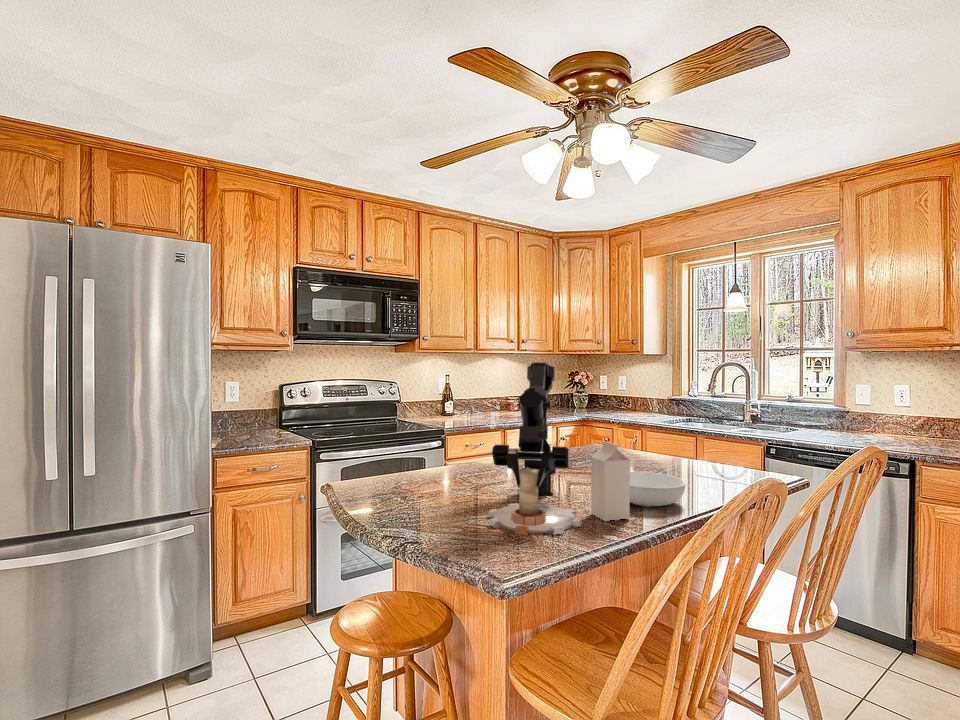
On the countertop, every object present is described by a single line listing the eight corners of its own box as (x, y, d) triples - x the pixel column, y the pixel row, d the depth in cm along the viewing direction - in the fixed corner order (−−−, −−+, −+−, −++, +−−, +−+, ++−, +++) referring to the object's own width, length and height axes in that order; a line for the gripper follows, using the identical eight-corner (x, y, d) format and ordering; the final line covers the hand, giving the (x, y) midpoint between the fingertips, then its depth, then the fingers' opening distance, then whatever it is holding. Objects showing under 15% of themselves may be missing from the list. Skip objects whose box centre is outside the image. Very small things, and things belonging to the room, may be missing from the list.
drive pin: (526, 508, 134) (526, 467, 134) (541, 511, 131) (541, 470, 131) (515, 511, 131) (515, 470, 131) (530, 515, 128) (531, 473, 128)
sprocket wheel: (557, 505, 150) (557, 492, 150) (599, 531, 128) (599, 516, 128) (476, 511, 144) (476, 498, 144) (504, 540, 121) (504, 524, 121)
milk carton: (604, 522, 135) (604, 445, 135) (590, 514, 142) (591, 441, 142) (629, 520, 137) (629, 444, 137) (615, 512, 144) (615, 440, 144)
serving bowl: (658, 518, 139) (658, 491, 139) (592, 501, 155) (593, 477, 155) (700, 504, 152) (700, 480, 152) (635, 490, 168) (636, 468, 168)
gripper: (493, 412, 137) (485, 464, 126) (568, 414, 133) (567, 468, 122) (498, 439, 144) (491, 490, 134) (569, 441, 141) (568, 494, 130)
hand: (528, 485), depth 130 cm, fingers closed on drive pin, 4 cm apart
